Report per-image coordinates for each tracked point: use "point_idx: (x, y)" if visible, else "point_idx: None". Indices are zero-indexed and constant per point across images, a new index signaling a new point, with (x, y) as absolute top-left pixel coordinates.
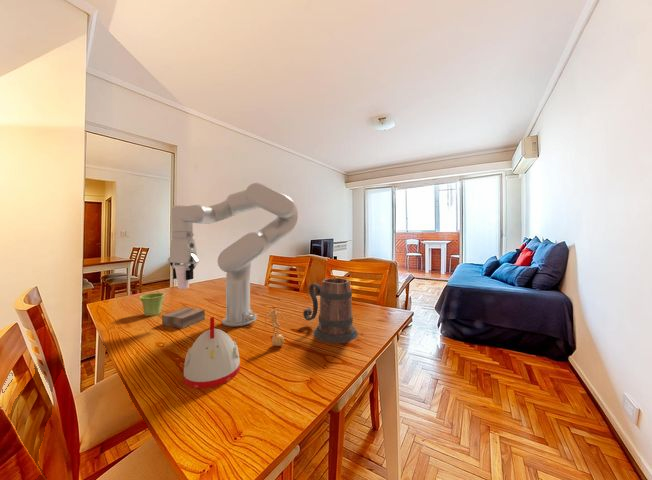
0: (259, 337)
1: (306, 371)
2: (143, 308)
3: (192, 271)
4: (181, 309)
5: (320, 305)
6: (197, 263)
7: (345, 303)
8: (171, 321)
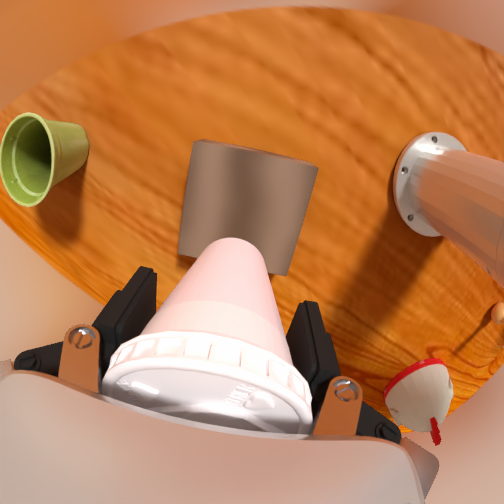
0: (478, 283)
1: (497, 350)
2: (44, 177)
3: (336, 375)
4: (198, 172)
5: None
6: (419, 446)
7: None
8: None
